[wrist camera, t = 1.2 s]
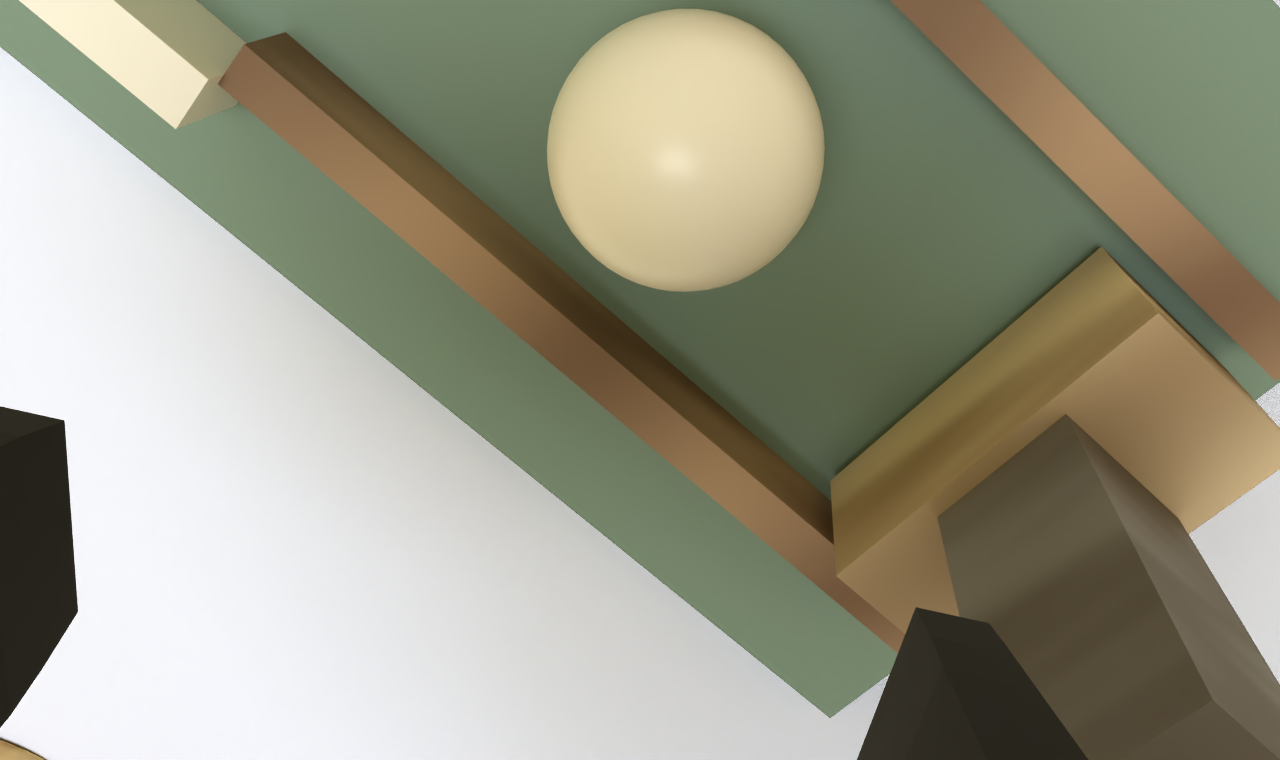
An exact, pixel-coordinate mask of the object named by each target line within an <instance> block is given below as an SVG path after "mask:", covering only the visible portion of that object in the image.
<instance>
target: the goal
mask: <svg viewBox="0 0 1280 760" xmlns="http://www.w3.org/2000/svg"><path fill="white" fill-rule="evenodd" d="M19 1H20V2H21V3H23V4H24V5H25V6H26V7H27V8H29V9H30V10H31V11H32V12H34V13H35V14H36V15H37V16H38V17H40V18H41V19H42V20H43V21H45V22H46V23H47V24H48V25H49V26H51V27H52V28H53V29H54V30H55V31H57V32H58V33H59V34H60V35H62V36H63V37H64V38H65V39H66V40H68V41H69V42H70V43H71V44H73V45H74V46H75V47H76V48H77V49H79V50H80V51H81V52H82V53H83V54H85V55H86V56H87V57H88V58H90V59H91V60H92V61H93V62H94V63H96V64H97V65H98V66H99V67H101V68H102V69H103V70H104V71H105V72H107V73H108V74H109V75H110V76H111V77H113V78H114V79H115V80H116V81H118V82H119V83H120V84H121V85H122V86H124V87H125V88H126V89H127V90H129V91H130V92H131V93H132V94H133V95H135V96H136V97H137V98H138V99H140V100H141V101H142V102H143V103H144V104H146V105H147V106H148V107H149V108H150V109H152V110H153V111H154V112H155V113H157V114H158V115H159V116H160V117H161V118H163V119H164V120H165V121H166V122H168V123H169V124H170V125H171V126H172V127H174V128H175V129H178V128H180V127H183V126H185V125H188V124H190V123H193V122H196V121H198V120H201V119H203V118H206V117H208V116H211V115H213V114H216V113H218V112H221V111H223V110H226V109H229V108H231V107H234V106H236V105H237V103H238V101H237V100H236V99H235V98H233V97H232V96H231V95H230V94H229V93H227V92H226V91H225V90H224V89H223V88H222V87H220V86H219V85H218V83H219V81H220V80H221V78H222V77H223V75H224V74H225V72H226V71H227V69H228V68H229V66H230V65H231V63H232V62H233V60H234V59H235V57H236V56H237V54H238V53H239V51H240V50H241V48H242V47H243V45H244V44H246V42H245V41H243V40H242V39H241V38H240V37H239V36H238V35H236V34H235V33H234V32H233V31H232V30H230V29H229V28H228V27H227V26H226V25H225V24H223V23H222V22H221V21H220V20H219V19H218V18H216V17H215V16H214V15H213V14H212V13H211V12H209V11H208V10H207V9H206V8H205V7H203V6H202V5H201V4H200V3H199V2H198V1H196V0H19Z"/></svg>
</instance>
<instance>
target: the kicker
mask: <svg viewBox="0 0 1280 760" xmlns="http://www.w3.org/2000/svg"><path fill="white" fill-rule="evenodd" d="M1279 469H1280V428H1279V427H1278V426H1277V425H1276V424H1275V422H1274V421H1273V420H1272V419H1271V418H1270V417H1269V416H1268V415H1267V413H1266V412H1265V411H1264V410H1263V409H1262V408H1261V407H1260V406H1259V405H1258V403H1257V402H1256V401H1255V400H1254V399H1253V398H1252V397H1251V396H1250V394H1249V393H1248V392H1247V391H1246V390H1245V389H1244V388H1243V387H1242V385H1241V384H1240V383H1239V382H1238V381H1237V380H1236V379H1235V378H1234V377H1233V375H1232V374H1231V373H1230V372H1229V371H1228V370H1227V369H1226V368H1225V367H1224V366H1223V365H1222V364H1221V363H1220V362H1219V361H1218V360H1217V359H1216V358H1215V357H1214V356H1213V355H1212V354H1211V353H1210V352H1209V351H1208V350H1207V349H1206V348H1205V347H1204V346H1203V345H1202V344H1201V343H1200V342H1199V341H1198V340H1197V339H1196V338H1195V337H1194V336H1193V335H1192V334H1191V333H1190V332H1189V331H1188V330H1187V329H1186V328H1185V327H1184V326H1183V325H1182V324H1181V323H1179V322H1178V321H1177V320H1176V319H1175V318H1174V317H1173V316H1172V315H1171V314H1170V313H1169V312H1168V311H1167V310H1166V309H1165V308H1164V307H1163V306H1162V305H1161V304H1160V303H1159V302H1158V301H1157V300H1156V299H1155V298H1154V297H1153V296H1152V295H1151V294H1150V293H1149V292H1148V291H1147V290H1146V289H1145V288H1144V287H1143V286H1142V285H1141V284H1140V283H1139V282H1138V281H1137V280H1136V279H1135V278H1134V277H1132V276H1131V275H1130V274H1129V273H1128V272H1127V271H1126V270H1125V269H1124V268H1123V267H1122V266H1121V265H1120V264H1119V263H1118V262H1117V261H1116V260H1115V259H1114V258H1113V257H1112V256H1111V255H1110V254H1109V253H1108V252H1107V251H1106V250H1105V249H1104V248H1103V247H1102V246H1101V247H1100V248H1099V249H1098V250H1097V251H1096V252H1095V253H1093V254H1092V255H1091V256H1090V257H1089V258H1088V259H1086V260H1085V261H1084V262H1083V263H1082V264H1081V265H1079V266H1078V267H1077V268H1076V269H1075V270H1074V271H1073V272H1071V273H1070V274H1069V275H1068V276H1067V277H1066V278H1064V279H1063V280H1062V281H1061V282H1060V283H1059V284H1057V285H1056V286H1055V287H1054V288H1053V289H1052V290H1051V291H1049V292H1048V293H1047V294H1046V295H1045V296H1044V297H1042V298H1041V299H1040V300H1039V301H1038V302H1037V303H1036V304H1034V305H1033V306H1032V307H1031V308H1030V309H1029V310H1027V311H1026V312H1025V313H1024V314H1023V315H1022V316H1020V317H1019V318H1018V319H1017V320H1016V321H1015V322H1014V323H1012V324H1011V325H1010V326H1009V327H1008V328H1007V329H1005V330H1004V331H1003V332H1002V333H1001V334H1000V335H998V336H997V337H996V338H995V339H994V340H993V341H992V342H990V343H989V344H988V345H987V346H986V347H985V348H983V349H982V350H981V351H980V352H979V353H978V354H976V355H975V356H974V357H973V358H972V359H971V360H970V361H968V362H967V363H966V364H965V365H964V366H963V367H961V368H960V369H959V370H958V371H957V372H956V373H954V374H953V375H952V376H951V377H950V378H949V379H948V380H946V381H945V382H944V383H943V384H942V385H941V386H939V387H938V388H937V389H936V390H935V391H934V392H932V393H931V394H930V395H929V396H928V397H927V398H926V399H924V400H923V401H922V402H921V403H920V404H919V405H917V406H916V407H915V408H914V409H913V410H912V411H910V412H909V413H908V414H907V415H906V416H905V417H904V418H902V419H901V420H900V421H899V422H898V423H897V424H895V425H894V426H893V427H892V428H891V429H890V430H889V431H887V432H886V433H885V434H884V435H883V436H882V437H880V438H879V439H878V440H877V441H876V442H875V443H873V444H872V445H871V446H870V447H869V448H868V449H867V450H865V451H864V452H863V453H862V454H861V455H860V456H858V457H857V458H856V459H855V460H854V461H853V462H851V463H850V464H849V465H848V466H847V467H846V468H845V469H843V470H842V471H841V472H840V473H839V474H838V475H836V476H835V477H834V478H833V479H832V480H831V481H830V484H831V501H832V518H833V535H834V551H835V568H836V576H837V577H838V578H839V579H840V580H842V581H843V582H844V583H845V584H846V585H847V586H849V587H850V588H851V589H852V590H853V591H855V592H856V593H857V594H858V595H859V596H861V597H862V598H863V599H864V600H865V601H866V602H868V603H869V604H870V605H871V606H872V607H874V608H875V609H876V610H877V611H878V612H880V613H881V614H882V615H883V616H884V617H885V618H887V619H888V620H889V621H890V622H891V623H893V624H894V625H895V626H896V627H897V628H898V629H900V630H901V631H902V632H903V633H904V634H906V631H907V628H908V626H909V623H910V621H911V618H912V615H913V613H914V610H915V608H916V607H918V608H922V609H927V610H931V611H936V612H940V613H945V614H950V615H954V616H959V617H963V618H968V619H972V620H977V621H982V622H986V623H989V624H990V625H991V626H992V628H993V629H994V630H995V632H996V633H997V634H998V635H999V637H1000V638H1001V639H1002V641H1003V642H1004V643H1005V645H1006V646H1007V647H1008V649H1009V650H1010V652H1011V653H1012V654H1013V656H1014V657H1015V658H1016V660H1017V661H1018V663H1019V664H1020V665H1021V667H1022V668H1023V669H1024V671H1025V672H1026V674H1027V675H1028V676H1029V678H1030V679H1031V681H1032V682H1033V683H1034V685H1035V686H1036V688H1037V689H1038V690H1039V692H1040V693H1041V695H1042V696H1043V697H1044V699H1045V700H1046V702H1047V703H1048V704H1049V706H1050V707H1051V709H1052V710H1053V711H1054V713H1055V714H1056V715H1057V717H1058V718H1059V720H1060V721H1061V722H1062V724H1063V725H1064V727H1065V728H1066V729H1067V731H1068V732H1069V733H1070V735H1071V736H1072V738H1073V739H1074V740H1075V742H1076V743H1077V745H1078V746H1079V747H1080V749H1081V750H1082V751H1083V753H1084V754H1085V756H1086V757H1087V758H1088V760H1280V685H1279V683H1278V681H1277V680H1276V678H1275V676H1274V675H1273V673H1272V671H1271V670H1270V668H1269V666H1268V665H1267V663H1266V662H1265V660H1264V658H1263V657H1262V655H1261V653H1260V652H1259V650H1258V648H1257V647H1256V645H1255V643H1254V642H1253V640H1252V638H1251V637H1250V635H1249V633H1248V632H1247V630H1246V629H1245V627H1244V625H1243V624H1242V622H1241V620H1240V619H1239V617H1238V615H1237V614H1236V612H1235V610H1234V609H1233V607H1232V605H1231V604H1230V602H1229V601H1228V599H1227V597H1226V596H1225V594H1224V592H1223V591H1222V589H1221V587H1220V586H1219V584H1218V582H1217V581H1216V579H1215V577H1214V576H1213V574H1212V572H1211V571H1210V569H1209V568H1208V566H1207V564H1206V563H1205V561H1204V559H1203V558H1202V556H1201V554H1200V553H1199V551H1198V549H1197V548H1196V546H1195V544H1194V543H1193V541H1192V540H1191V538H1190V536H1189V535H1188V534H1189V533H1191V532H1192V531H1193V530H1195V529H1196V528H1198V527H1199V526H1200V525H1202V524H1203V523H1205V522H1206V521H1207V520H1209V519H1210V518H1212V517H1213V516H1214V515H1216V514H1217V513H1219V512H1220V511H1221V510H1223V509H1224V508H1226V507H1227V506H1228V505H1230V504H1231V503H1233V502H1234V501H1235V500H1237V499H1238V498H1240V497H1241V496H1242V495H1244V494H1245V493H1247V492H1248V491H1250V490H1251V489H1252V488H1254V487H1255V486H1257V485H1258V484H1259V483H1261V482H1262V481H1264V480H1265V479H1266V478H1268V477H1269V476H1271V475H1272V474H1273V473H1275V472H1276V471H1278V470H1279Z"/></svg>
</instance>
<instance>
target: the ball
mask: <svg viewBox="0 0 1280 760" xmlns="http://www.w3.org/2000/svg"><path fill="white" fill-rule="evenodd" d="M824 152H825V144H824V130H823V125H822V120H821V115H820V111H819V108H818V105H817V102H816V99H815V96H814V94H813V92H812V90H811V88H810V86H809V84H808V82H807V80H806V78H805V76H804V74H803V73H802V71H801V70H800V68H799V67H798V66H797V64H796V63H795V61H794V60H793V59H792V58H791V56H790V55H789V54H788V53H787V52H786V51H785V50H784V49H783V48H782V47H781V46H780V45H779V44H778V43H777V42H776V41H774V40H773V39H772V38H771V37H770V36H768V35H767V34H766V33H764V32H762V31H761V30H759V29H758V28H756V27H754V26H753V25H751V24H749V23H747V22H745V21H742V20H740V19H738V18H736V17H733V16H730V15H727V14H723V13H720V12H716V11H710V10H703V9H672V10H665V11H659V12H655V13H652V14H648V15H644V16H641V17H638V18H636V19H634V20H631V21H629V22H627V23H625V24H622V25H621V26H619V27H618V28H616V29H614V30H613V31H611V32H609V33H608V34H606V35H605V36H604V37H603V38H601V39H600V40H599V41H598V42H596V43H595V44H594V45H593V46H592V47H591V48H590V49H589V50H588V51H587V52H586V53H585V54H584V55H583V56H582V57H581V59H580V60H579V61H578V63H577V64H576V66H575V67H574V68H573V70H572V71H571V73H570V74H569V75H568V77H567V79H566V81H565V83H564V84H563V86H562V88H561V90H560V92H559V94H558V97H557V100H556V102H555V105H554V108H553V111H552V115H551V120H550V124H549V130H548V141H547V163H548V172H549V178H550V184H551V188H552V191H553V194H554V197H555V201H556V203H557V205H558V208H559V210H560V212H561V214H562V217H563V218H564V220H565V222H566V223H567V225H568V227H569V228H570V230H571V232H572V233H573V234H574V235H575V237H576V238H577V239H578V240H579V242H580V243H581V244H582V246H583V247H584V248H585V249H586V250H587V251H588V252H589V253H590V254H591V255H592V256H593V257H594V258H595V259H597V260H598V261H599V262H600V263H602V264H603V265H604V266H606V267H607V268H608V269H610V270H612V271H613V272H615V273H617V274H618V275H620V276H622V277H624V278H626V279H628V280H631V281H633V282H635V283H638V284H641V285H644V286H647V287H651V288H654V289H660V290H666V291H679V292H691V291H702V290H709V289H713V288H718V287H723V286H725V285H728V284H731V283H734V282H737V281H739V280H741V279H743V278H745V277H747V276H749V275H751V274H753V273H755V272H756V271H758V270H759V269H761V268H762V267H764V266H765V265H767V264H768V263H769V262H771V261H772V260H773V259H774V258H775V257H776V256H777V255H779V254H780V253H781V252H782V251H783V250H784V249H785V247H786V246H787V245H788V244H789V243H790V242H791V241H792V239H793V238H794V237H795V236H796V235H797V233H798V232H799V230H800V229H801V227H802V226H803V224H804V223H805V221H806V219H807V217H808V215H809V213H810V211H811V209H812V207H813V205H814V202H815V199H816V196H817V193H818V190H819V187H820V182H821V177H822V172H823V167H824Z"/></svg>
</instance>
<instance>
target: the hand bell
mask: <svg viewBox="0 0 1280 760" xmlns="http://www.w3.org/2000/svg"><path fill="white" fill-rule="evenodd" d="M0 760H44V759H42V758H41V757H39V756H37V755H35V754H33V753H31V752H29V751H27V750H24V749H22V748H20V747H17V746H15V745H13V744H10V743H8V742H5V741H3V740H0Z"/></svg>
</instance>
